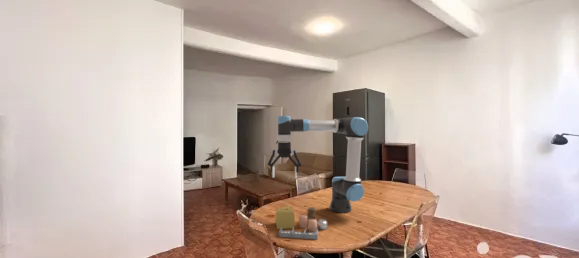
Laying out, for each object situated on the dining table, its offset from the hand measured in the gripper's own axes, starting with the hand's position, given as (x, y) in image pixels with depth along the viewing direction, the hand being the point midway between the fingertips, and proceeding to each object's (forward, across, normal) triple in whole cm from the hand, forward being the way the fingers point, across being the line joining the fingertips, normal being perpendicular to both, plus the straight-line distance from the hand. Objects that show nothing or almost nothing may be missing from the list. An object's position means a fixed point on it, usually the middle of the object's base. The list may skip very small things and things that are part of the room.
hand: (284, 177), depth 157 cm
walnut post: (+29, -15, -10) cm, 34 cm away
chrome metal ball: (+29, -22, 0) cm, 36 cm away
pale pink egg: (+29, -17, +5) cm, 34 cm away
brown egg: (+29, -11, 0) cm, 31 cm away
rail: (+29, -10, +12) cm, 33 cm away
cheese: (+29, 0, 0) cm, 29 cm away
